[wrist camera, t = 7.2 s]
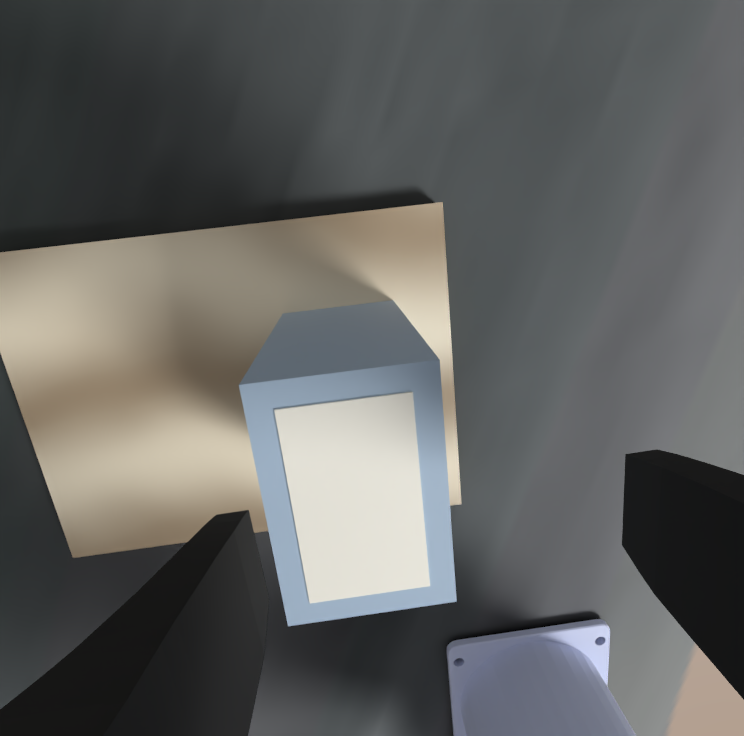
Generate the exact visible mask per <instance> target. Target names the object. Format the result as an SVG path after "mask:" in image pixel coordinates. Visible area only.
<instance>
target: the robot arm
mask: <svg viewBox="0 0 744 736" xmlns="http://www.w3.org/2000/svg"><path fill="white" fill-rule="evenodd" d="M622 545H623V547H624V549H625V550H626V552H627V553H628V555H629V557H630V558H631V560H632V561H633V563H634V564H635V566H636V568H637V569H638V571H639V572H640V574H641V575H642V577H643V578H644V580H645V581H646V583H647V584H648V585H649V587H650V588H651V590H652V591H653V593H654V594H655V595H656V597H657V598H658V599H659V600H660V601H661V603H662V604H663V605H664V606H665V608H666V609H667V610H668V611H669V612H670V613H671V615H672V616H673V617H674V618H675V619H676V621H677V622H678V623H679V624H680V625H681V627H682V628H683V629H684V630H685V631H686V633H687V634H688V635H689V636H690V637H691V638H692V640H693V641H694V642H695V643H696V644H697V645H698V647H699V648H700V649H701V650H702V651H703V652H704V653H705V655H706V656H707V657H708V658H709V659H710V661H711V662H712V663H713V664H714V665H715V666H716V668H717V669H718V670H719V671H720V672H721V673H722V675H723V676H724V677H725V678H726V679H727V680H728V682H729V683H730V684H731V685H732V686H733V687H734V689H735V690H736V691H737V692H738V693H739V695H740V696H741V697H742V698H743V699H744V475H742V474H739V473H736V472H733V471H730V470H726V469H723V468H720V467H717V466H714V465H711V464H708V463H705V462H701V461H698V460H695V459H691V458H688V457H685V456H681V455H677V454H674V453H670V452H665V451H661V450H651V451H644V452H638V453H631V454H626V457H625V483H624V508H623V534H622ZM268 609H269V596H268V592H267V587H266V583H265V579H264V574H263V570H262V565H261V561H260V557H259V552H258V548H257V544H256V539H255V535H254V531H253V526H252V522H251V518H250V513H249V510H245V511H238V512H231V513H224V514H217V515H215V516H214V517H213V518H212V519H211V520H210V521H208V522H207V523H206V524H205V525H204V526H203V527H202V528H201V529H200V530H199V531H198V532H197V533H196V534H195V535H194V536H193V537H192V538H191V539H190V540H189V541H188V542H187V543H186V544H185V545H184V546H183V547H182V548H181V549H180V550H179V551H178V552H177V553H176V554H175V555H174V556H173V557H172V558H171V559H170V560H169V561H168V562H167V563H166V564H165V565H164V566H163V567H162V568H161V569H160V570H159V571H158V572H157V573H156V574H155V575H154V576H153V577H152V578H151V579H150V580H149V581H148V582H147V583H146V584H145V585H144V586H143V587H142V588H141V589H140V590H139V591H138V592H137V593H136V594H135V595H134V596H132V597H131V598H130V599H129V600H128V601H127V602H126V603H125V604H124V605H123V606H121V607H120V608H119V609H118V610H117V611H116V612H115V613H114V614H113V615H112V616H111V617H109V618H108V619H107V620H106V621H105V622H104V623H103V624H102V625H101V626H100V627H99V628H97V629H96V630H95V631H94V632H93V633H92V634H91V635H90V636H89V637H88V638H87V639H85V640H84V641H83V642H82V643H81V644H80V645H79V646H78V647H76V648H75V649H74V650H73V651H72V652H71V653H69V654H68V655H67V656H66V657H65V658H64V659H62V660H61V661H60V662H59V663H58V664H56V665H55V666H54V667H53V668H52V669H50V670H49V671H48V672H47V673H46V674H44V675H43V676H42V677H41V678H39V679H38V680H37V681H36V682H34V683H33V684H32V685H31V686H29V687H28V688H27V689H26V690H24V691H23V692H22V693H21V694H19V695H18V696H17V697H15V698H14V699H13V700H12V701H10V702H9V703H8V704H7V705H5V706H4V707H3V708H2V709H0V736H248V732H249V728H250V723H251V718H252V713H253V709H254V704H255V699H256V694H257V689H258V684H259V679H260V674H261V669H262V664H263V659H264V653H265V643H266V633H267V621H268ZM598 637H599V638H598ZM609 643H610V628H609V626H608V625H607V623H606V622H605V621H604V620H602V619H594V620H587V621H580V622H574V623H567V624H560V625H554V626H547V627H540V628H534V629H527V630H520V631H514V632H507V633H500V634H494V635H487V636H480V637H474V638H467V639H460V640H455V641H452V642H451V643H449V644H448V646H447V662H448V674H449V687H450V699H451V711H452V724H453V736H636V734H635V732H634V731H633V729H632V727H631V726H630V724H629V722H628V721H627V719H626V717H625V716H624V714H623V712H622V710H621V709H620V707H619V705H618V704H617V702H616V700H615V699H614V697H613V695H612V694H611V692H610V690H609V688H608V687H607V683H608V663H609ZM458 658H460V659H458Z"/></svg>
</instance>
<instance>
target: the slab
mask: <svg viewBox="0 0 744 736" xmlns="http://www.w3.org/2000/svg"><path fill="white" fill-rule="evenodd" d="M239 388H240V393H241V398H242V403H243V408H244V413H245V418H246V423H247V428H248V433H249V437H250V442H251V447H252V452H253V457H254V462H255V467H256V472H257V477H258V482H259V486H260V491H261V496H262V501H263V506H264V511H265V516H266V521H267V526H268V531H269V535H270V540H271V545H272V550H273V555H274V560H275V565H276V570H277V575H278V580H279V584H280V589H281V594H282V599H283V604H284V609H285V614H286V619H287V624H288V626H294V625H301V624H308V623H314V622H321V621H328V620H335V619H342V618H348V617H355V616H362V615H369V614H376V613H383V612H389V611H396V610H403V609H410V608H417V607H423V606H430V605H437V604H444V603H451V602H457V599H456V585H455V571H454V557H453V542H452V528H451V514H450V500H449V485H448V471H447V457H446V442H445V428H444V414H443V400H442V385H441V371H440V359H439V358H438V357H437V355H436V354H435V353H434V352H433V350H432V349H431V348H430V347H429V345H428V344H427V343H426V341H425V340H424V339H423V338H422V336H421V335H420V334H419V332H418V331H417V330H416V329H415V327H414V326H413V325H412V324H411V322H410V321H409V320H408V318H407V317H406V316H405V315H404V313H403V312H402V311H401V309H400V308H399V307H398V306H397V304H396V303H395V302H394V301H393V300H391V301H382V302H374V303H366V304H358V305H349V306H341V307H333V308H325V309H316V310H308V311H300V312H292V313H283V314H282V316H281V317H280V319H279V321H278V322H277V324H276V325H275V327H274V329H273V330H272V332H271V334H270V335H269V337H268V338H267V340H266V342H265V343H264V345H263V347H262V348H261V350H260V351H259V353H258V355H257V356H256V358H255V360H254V361H253V363H252V364H251V366H250V368H249V369H248V371H247V372H246V374H245V376H244V377H243V379H242V381H241V382H240V384H239Z"/></svg>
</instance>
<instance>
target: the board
mask: <svg viewBox="0 0 744 736" xmlns="http://www.w3.org/2000/svg"><path fill="white" fill-rule="evenodd" d="M391 300H393V301H394V302H395V303H396V304H397V306H398V307H399V308H400V309H401V311H402V312H403V313H404V315H405V316H406V317H407V318H408V320H409V321H410V322H411V324H412V325H413V326H414V327H415V329H416V330H417V331H418V332H419V334H420V335H421V336H422V338H423V339H424V340H425V341H426V343H427V344H428V345H429V347H430V348H431V349H432V350H433V352H434V353H435V354H436V355H437V357H438V358H439V359H440V371H441V385H442V400H443V414H444V428H445V442H446V457H447V471H448V485H449V500H450V506H451V505H459V504H461V491H460V475H459V459H458V442H457V426H456V410H455V394H454V378H453V362H452V346H451V329H450V313H449V297H448V281H447V265H446V249H445V232H444V216H443V202H439V203H431V204H422V205H413V206H404V207H395V208H387V209H378V210H369V211H360V212H351V213H343V214H334V215H325V216H316V217H307V218H299V219H290V220H281V221H272V222H263V223H255V224H246V225H237V226H228V227H220V228H211V229H202V230H193V231H184V232H176V233H167V234H158V235H149V236H140V237H132V238H123V239H114V240H105V241H96V242H88V243H79V244H70V245H61V246H52V247H44V248H35V249H26V250H17V251H8V252H0V353H1V356H2V359H3V362H4V365H5V367H6V370H7V373H8V376H9V379H10V381H11V384H12V387H13V390H14V393H15V396H16V398H17V401H18V404H19V407H20V410H21V413H22V415H23V418H24V421H25V424H26V427H27V429H28V432H29V435H30V438H31V441H32V444H33V446H34V449H35V452H36V455H37V458H38V461H39V463H40V466H41V469H42V472H43V475H44V477H45V480H46V483H47V486H48V489H49V492H50V494H51V497H52V500H53V503H54V506H55V509H56V511H57V514H58V517H59V520H60V523H61V525H62V528H63V531H64V534H65V537H66V540H67V542H68V545H69V548H70V551H71V554H72V557H73V558H76V557H84V556H91V555H98V554H105V553H113V552H120V551H127V550H134V549H141V548H149V547H156V546H163V545H170V544H177V543H185V542H188V541H189V540H190V539H191V538H192V537H193V536H194V535H195V534H196V533H197V532H198V531H199V530H200V529H201V528H202V527H203V526H204V525H205V524H206V523H207V522H208V521H210V520H211V519H212V518H213V517H214V516H215V515H217V514H224V513H231V512H238V511H245V510H249V513H250V518H251V522H252V526H253V531H254V533H257V532H264V531H268V526H267V521H266V516H265V511H264V506H263V501H262V496H261V491H260V486H259V482H258V477H257V472H256V467H255V462H254V457H253V452H252V447H251V442H250V437H249V433H248V428H247V423H246V418H245V413H244V408H243V403H242V398H241V393H240V388H239V384H240V382H241V381H242V379H243V377H244V376H245V374H246V372H247V371H248V369H249V368H250V366H251V364H252V363H253V361H254V360H255V358H256V356H257V355H258V353H259V351H260V350H261V348H262V347H263V345H264V343H265V342H266V340H267V338H268V337H269V335H270V334H271V332H272V330H273V329H274V327H275V325H276V324H277V322H278V321H279V319H280V317H281V316H282V314H283V313H292V312H300V311H308V310H316V309H325V308H333V307H341V306H349V305H358V304H366V303H374V302H382V301H391Z"/></svg>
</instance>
